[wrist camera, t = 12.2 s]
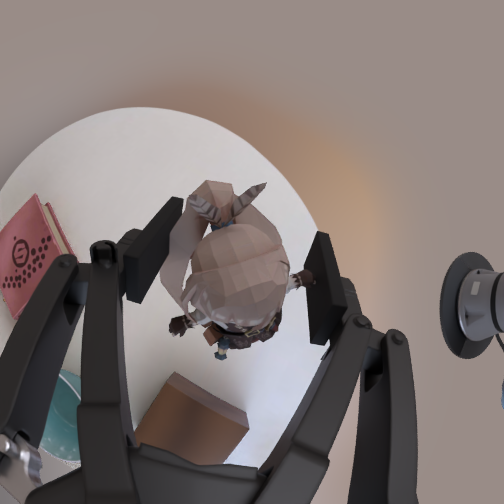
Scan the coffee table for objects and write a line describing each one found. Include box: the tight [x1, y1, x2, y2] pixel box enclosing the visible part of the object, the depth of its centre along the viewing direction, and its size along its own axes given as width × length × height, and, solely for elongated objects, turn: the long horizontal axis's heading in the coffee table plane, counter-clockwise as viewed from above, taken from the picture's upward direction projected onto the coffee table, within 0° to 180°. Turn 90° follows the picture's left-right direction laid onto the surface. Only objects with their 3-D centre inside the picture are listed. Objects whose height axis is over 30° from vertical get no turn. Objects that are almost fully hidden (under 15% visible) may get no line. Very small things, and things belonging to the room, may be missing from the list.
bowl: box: [39, 369, 81, 463], centre depth 29 cm, size 16×16×8 cm
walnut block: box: [134, 372, 249, 465], centre depth 32 cm, size 12×12×6 cm
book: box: [0, 194, 79, 320], centre depth 34 cm, size 14×15×5 cm
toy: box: [160, 180, 316, 360], centre depth 15 cm, size 9×8×15 cm
